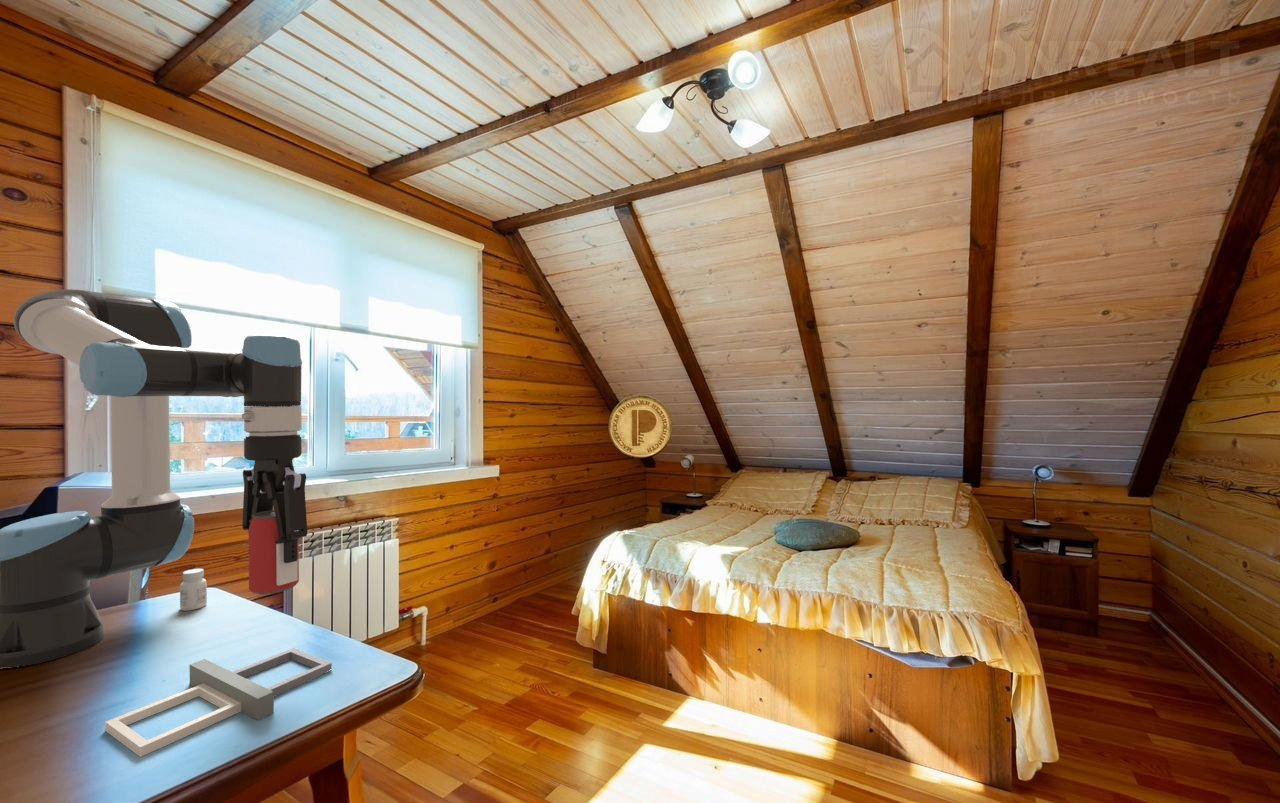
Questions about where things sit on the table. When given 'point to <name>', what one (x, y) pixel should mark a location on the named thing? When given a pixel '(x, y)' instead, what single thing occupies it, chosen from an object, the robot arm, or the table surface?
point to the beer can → (265, 554)
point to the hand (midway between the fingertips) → (274, 578)
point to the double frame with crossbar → (216, 698)
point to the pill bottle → (193, 590)
